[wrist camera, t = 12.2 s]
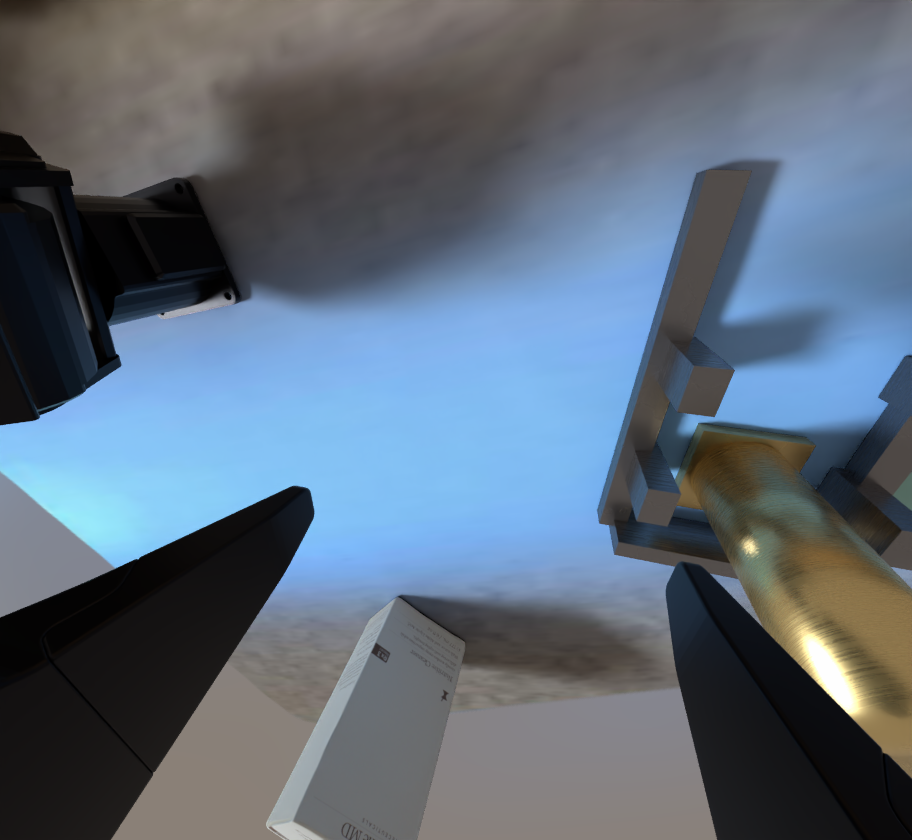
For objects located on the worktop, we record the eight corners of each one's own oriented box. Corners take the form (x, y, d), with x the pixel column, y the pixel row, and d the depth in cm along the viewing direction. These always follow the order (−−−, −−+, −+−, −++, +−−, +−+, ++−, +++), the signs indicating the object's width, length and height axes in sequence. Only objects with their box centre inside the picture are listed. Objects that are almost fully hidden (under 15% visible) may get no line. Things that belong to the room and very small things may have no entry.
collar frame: (595, 515, 24) (603, 573, 20) (696, 173, 15) (746, 157, 11) (879, 567, 21) (952, 645, 17) (1218, 181, 12) (1532, 164, 8)
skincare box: (468, 641, 34) (415, 897, 21) (433, 662, 37) (369, 897, 24) (393, 591, 33) (290, 828, 20) (363, 617, 36) (258, 837, 23)
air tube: (668, 496, 22) (777, 758, 11) (698, 423, 20) (873, 669, 9) (762, 511, 21) (978, 813, 10) (806, 437, 19) (1147, 731, 8)
